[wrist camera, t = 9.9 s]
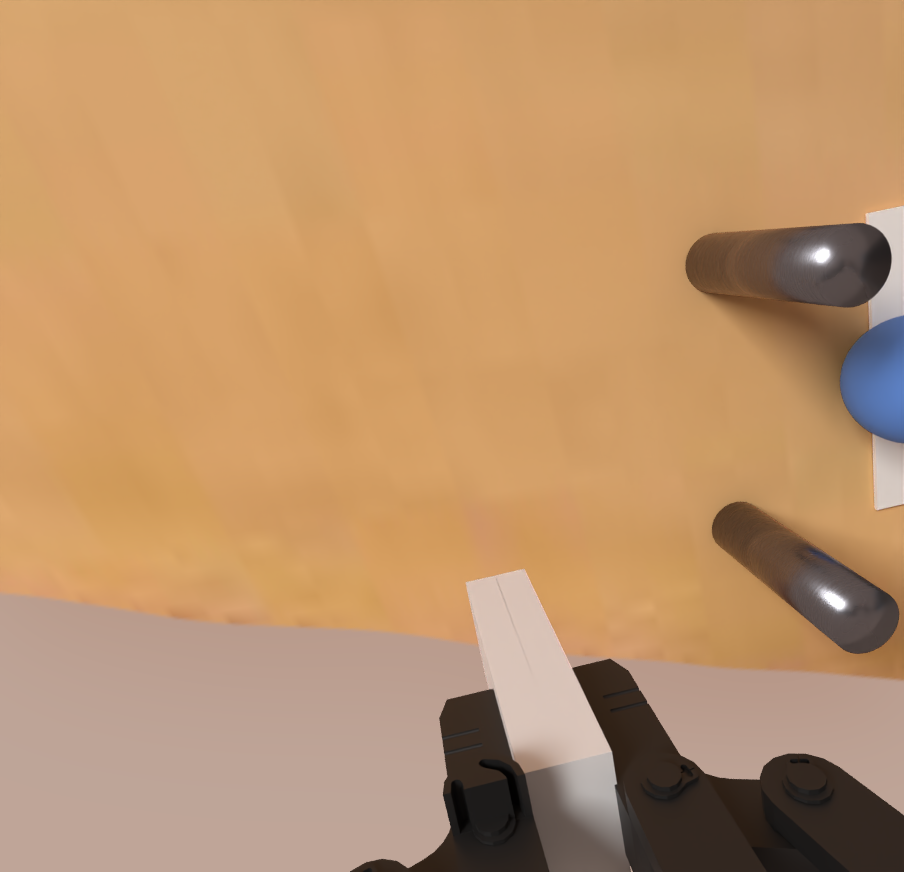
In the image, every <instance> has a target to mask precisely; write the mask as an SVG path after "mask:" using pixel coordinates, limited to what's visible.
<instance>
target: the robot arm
mask: <svg viewBox="0 0 904 872" xmlns="http://www.w3.org/2000/svg"><path fill="white" fill-rule="evenodd" d="M466 586H467V591H468V596H469V600H470V605H471V610H472V615H473V619H474V624H475V629H476V634H477V638H478V643H479V648H480V652H481V657H482V662H483V666H484V672H485V676H486V680H487V684H488V688H489V690H486V691H481V692H477V693H474V694H469V695H465V696H461V697H457V698H453V699H448V700H447V701H446V703H445V706H444V708H443V711H442V713H441V716H440V718H439V719H440V726H441V733H442V739H443V747H444V754H445V762H446V769H447V775H448V777H447V779H446V780H445V782H444V790H443V797H444V801H445V805H446V809H447V813H448V818H449V821H450V826H451V828H450V831H449V834H448V835H447V837H446V839H445V840H444V842H443V843H442V844H441V846H439V848H438V849H437V850H436V851H435V852H434V853H432V854H431V855H429V856H428V857H427V858H425V859H424V860H422V861H420V862H419V863H417V864H415V865H414V866H412V867H410V868H406V867H405V866H403V865H402V864H400V863H399V862H397V861H393V860H386V859H380V860H375V861H370V862H366V863H364V864H362V865H361V866H359V867H357V868H355V869H354V870H352V871H350V872H631V869H630V866H631V868H632V871H633V872H904V815H903V814H901V813H900V812H899V811H897V810H896V809H895V808H893V807H892V806H891V805H889V804H888V803H887V802H885V801H884V800H882V799H881V798H880V797H879V796H877V795H876V794H875V793H873V792H872V791H871V790H869V789H867V787H865V786H864V785H862V784H861V783H860V782H858V781H857V780H856V779H854V778H853V777H852V776H850V775H849V774H848V773H846V772H845V771H844V770H842V769H841V768H840V767H838V766H836V765H834V764H833V763H831V762H829V761H827V760H825V759H823V758H819V757H816V756H812V755H808V754H786V755H782V756H779V757H775V758H773V759H772V760H771V761H769V762H768V763H767V764H766V765H765V766H764V767H763V770H762V773H761V776H760V780H748V779H746V780H745V779H726V778H718V777H715V776H712V775H708V774H705V773H704V772H703V771H702V770H701V769H700V768H699V767H698V766H697V765H696V764H695V763H694V762H692V761H690V760H688V759H686V758H685V757H683V756H681V755H680V754H679V753H678V751H677V749H676V748H675V746H674V745H673V743H672V741H671V740H670V738H669V736H668V735H667V733H666V731H665V730H664V728H663V727H662V725H661V723H660V722H659V720H658V718H657V717H656V715H655V713H654V712H653V710H652V709H651V707H650V705H649V704H647V700H646V699H645V697H644V696H643V694H642V692H641V691H639V688H638V686H637V684H636V683H635V681H634V679H633V678H632V676H631V674H630V673H629V671H628V670H626V669H625V668H623V667H622V666H620V665H619V664H617V663H616V662H614V661H613V660H611V659H607V660H603V661H599V662H595V663H591V664H586V665H582V666H578V667H574V668H571V665H570V663H569V661H568V659H567V657H566V655H565V653H564V651H563V649H562V646H561V644H560V642H559V640H558V638H557V636H556V634H555V632H554V630H553V628H552V626H551V624H550V621H549V619H548V617H547V615H546V613H545V611H544V609H543V607H542V605H541V603H540V601H539V599H538V596H537V594H536V592H535V590H534V588H533V586H532V584H531V582H530V580H529V578H528V576H527V574H526V571H525V569H521V570H517V571H513V572H508V573H504V574H500V575H496V576H491V577H487V578H483V579H478V580H474V581H470V582H466Z"/></svg>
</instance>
